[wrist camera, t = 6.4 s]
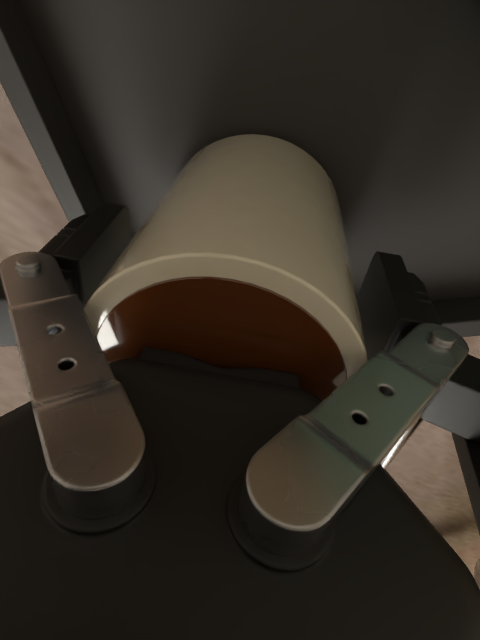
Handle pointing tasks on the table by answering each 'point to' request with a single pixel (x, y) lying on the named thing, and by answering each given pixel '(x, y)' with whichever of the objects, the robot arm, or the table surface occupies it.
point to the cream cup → (240, 269)
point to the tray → (268, 111)
